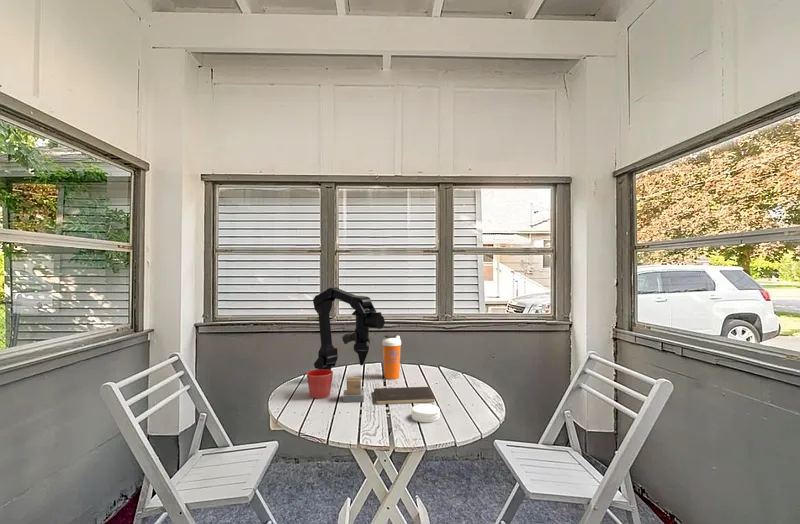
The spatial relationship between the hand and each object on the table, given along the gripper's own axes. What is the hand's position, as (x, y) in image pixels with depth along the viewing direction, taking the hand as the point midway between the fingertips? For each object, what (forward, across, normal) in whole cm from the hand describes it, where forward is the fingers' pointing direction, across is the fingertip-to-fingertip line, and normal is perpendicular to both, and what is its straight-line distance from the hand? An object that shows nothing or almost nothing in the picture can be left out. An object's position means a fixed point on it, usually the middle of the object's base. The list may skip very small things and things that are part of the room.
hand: (362, 362), depth 192 cm
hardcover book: (+12, +11, +17) cm, 24 cm away
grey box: (+12, +12, -3) cm, 17 cm away
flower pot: (+12, +7, -17) cm, 22 cm away
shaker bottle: (+12, -19, +13) cm, 26 cm away
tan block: (+9, +12, -3) cm, 15 cm away
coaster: (+12, +34, +24) cm, 44 cm away
